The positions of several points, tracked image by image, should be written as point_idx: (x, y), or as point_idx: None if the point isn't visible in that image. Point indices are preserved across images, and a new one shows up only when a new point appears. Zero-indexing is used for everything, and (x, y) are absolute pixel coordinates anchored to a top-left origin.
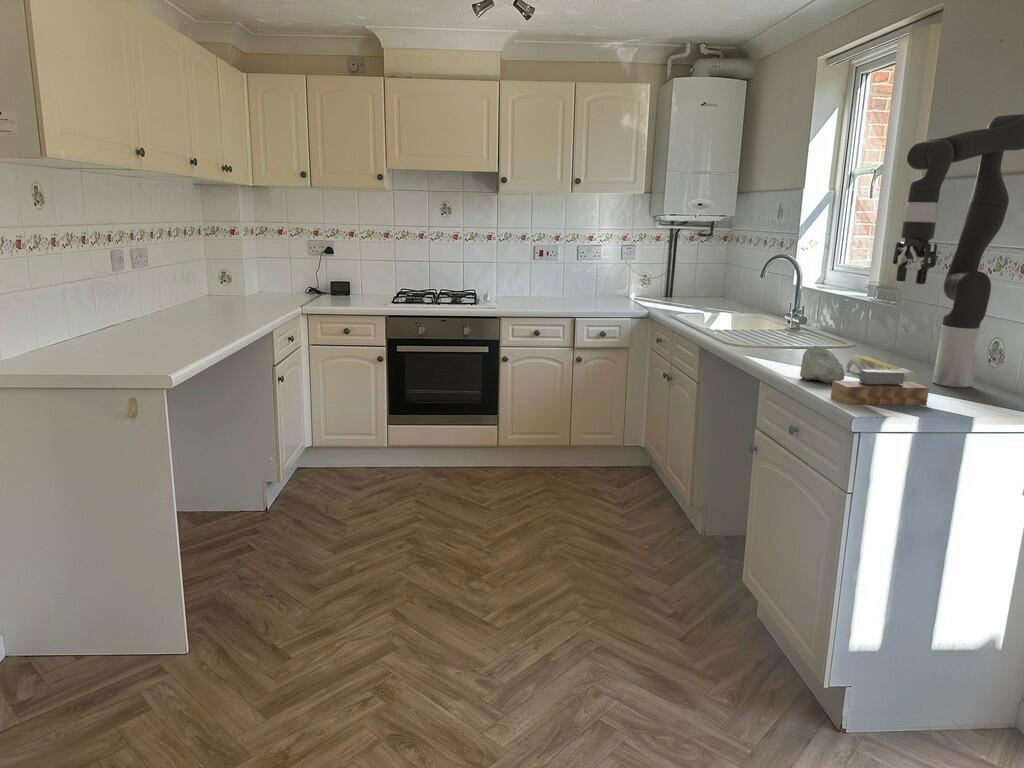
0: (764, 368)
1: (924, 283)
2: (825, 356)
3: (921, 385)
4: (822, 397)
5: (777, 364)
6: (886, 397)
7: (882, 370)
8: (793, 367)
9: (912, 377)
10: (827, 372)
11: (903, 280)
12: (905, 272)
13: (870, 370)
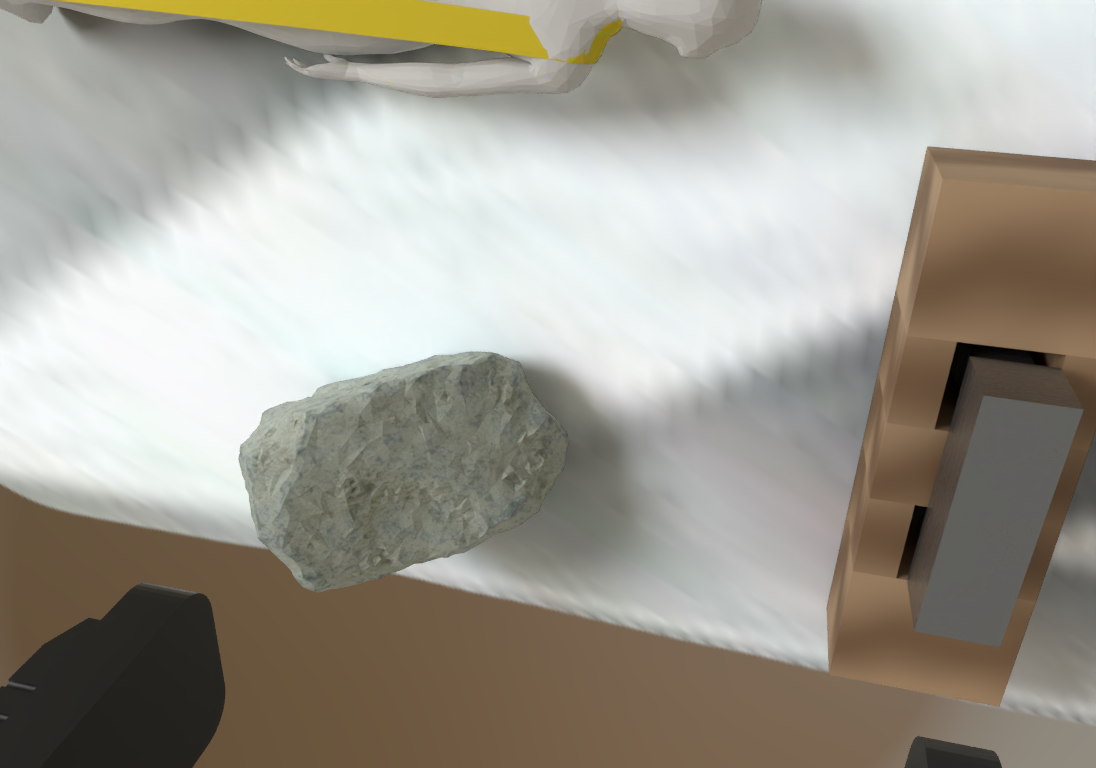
0: (144, 518)
1: (995, 758)
2: (378, 494)
3: (1079, 198)
4: (822, 644)
5: (9, 386)
6: None
7: (967, 513)
8: (70, 342)
9: (754, 18)
10: (536, 509)
11: (199, 621)
12: (74, 757)
13: (952, 591)
